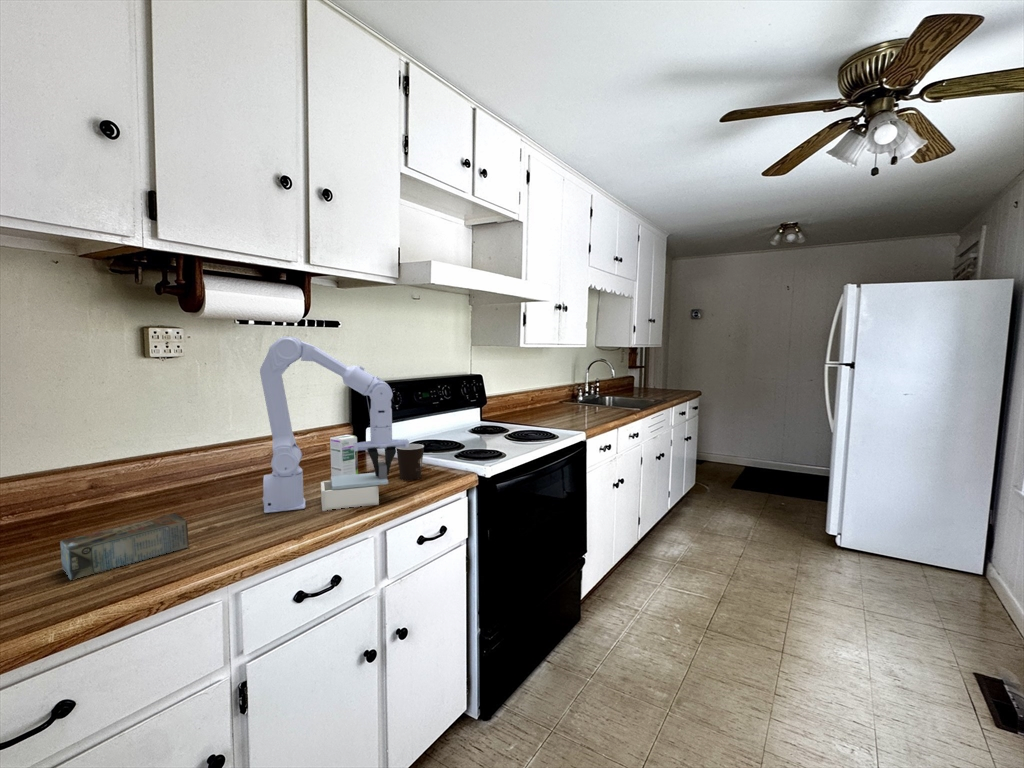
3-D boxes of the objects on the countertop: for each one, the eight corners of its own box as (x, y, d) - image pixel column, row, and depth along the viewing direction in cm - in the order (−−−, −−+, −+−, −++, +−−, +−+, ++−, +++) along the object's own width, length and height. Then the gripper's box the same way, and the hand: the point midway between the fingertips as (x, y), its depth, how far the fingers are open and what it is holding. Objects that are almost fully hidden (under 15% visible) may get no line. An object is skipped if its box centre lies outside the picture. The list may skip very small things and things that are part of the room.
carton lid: (332, 489, 125) (332, 473, 124) (330, 479, 134) (330, 464, 134) (388, 483, 130) (388, 468, 130) (383, 474, 139) (382, 459, 139)
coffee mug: (411, 482, 150) (410, 450, 149) (390, 478, 154) (390, 447, 154) (436, 474, 160) (435, 444, 159) (416, 470, 164) (415, 441, 163)
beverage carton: (60, 570, 92) (57, 536, 91) (178, 539, 107) (176, 509, 106) (69, 583, 87) (67, 547, 87) (191, 548, 102) (190, 517, 101)
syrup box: (342, 487, 145) (341, 438, 144) (330, 483, 149) (329, 436, 147) (358, 482, 150) (357, 436, 148) (347, 479, 153) (346, 433, 152)
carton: (322, 511, 124) (321, 491, 124) (321, 499, 134) (320, 481, 133) (378, 504, 130) (378, 486, 129) (374, 493, 139) (373, 476, 138)
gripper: (354, 429, 127) (355, 481, 128) (410, 426, 132) (411, 475, 133) (352, 425, 133) (353, 474, 134) (405, 422, 139) (406, 469, 140)
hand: (381, 474), depth 134 cm, fingers closed on carton lid, 2 cm apart
